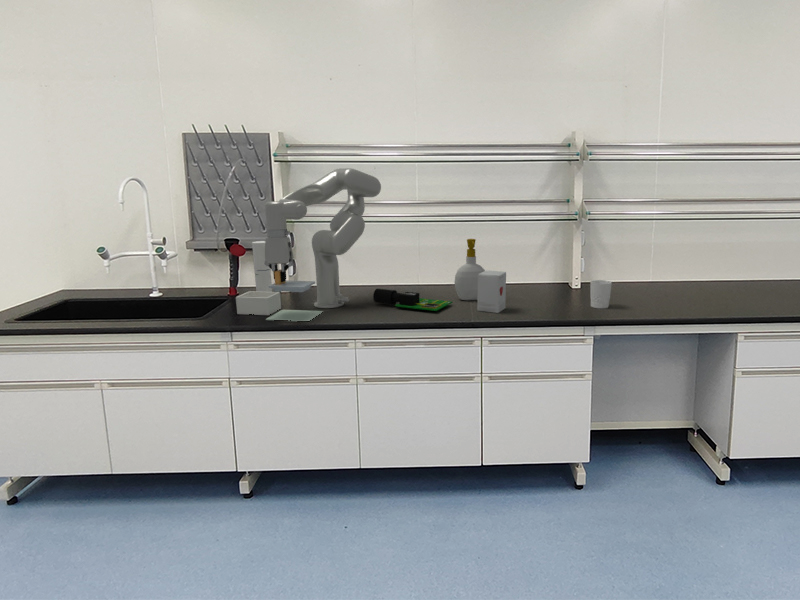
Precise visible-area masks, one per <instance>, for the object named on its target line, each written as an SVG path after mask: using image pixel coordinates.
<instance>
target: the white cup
mask: <svg viewBox="0 0 800 600" xmlns="http://www.w3.org/2000/svg"><path fill="white" fill-rule="evenodd" d="M589 289H590V290H589V291H590V293H589V295H590V307H591V308H595V309H608V308H609V305H610V300H611V292H612V281H610V280H604V279H602V280H601V279H594V280H590V287H589Z"/></svg>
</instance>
